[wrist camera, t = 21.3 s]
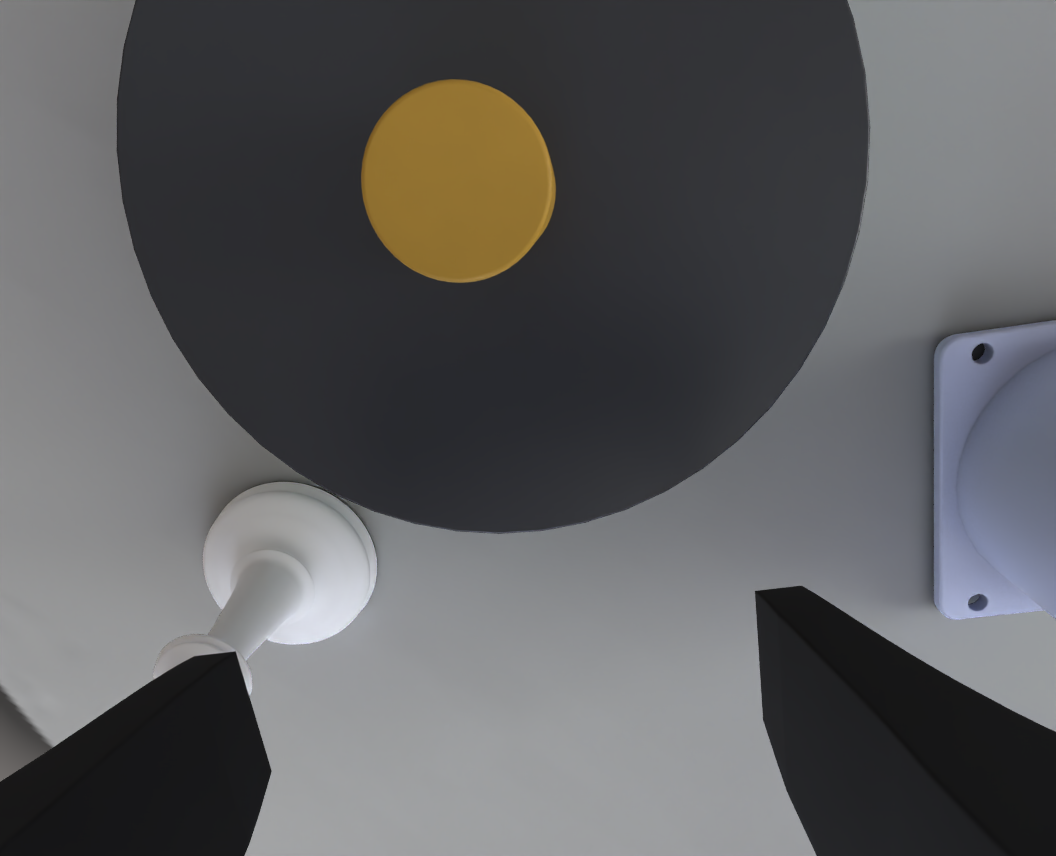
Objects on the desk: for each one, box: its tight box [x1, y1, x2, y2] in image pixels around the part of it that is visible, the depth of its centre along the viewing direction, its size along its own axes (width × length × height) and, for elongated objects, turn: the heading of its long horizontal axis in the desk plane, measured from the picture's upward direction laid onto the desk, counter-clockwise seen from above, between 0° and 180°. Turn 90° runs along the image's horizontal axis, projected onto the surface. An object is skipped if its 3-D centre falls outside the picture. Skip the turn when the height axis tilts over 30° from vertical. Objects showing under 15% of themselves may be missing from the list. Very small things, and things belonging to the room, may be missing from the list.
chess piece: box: [153, 482, 377, 697], centre depth 16 cm, size 5×5×10 cm
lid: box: [117, 0, 870, 534], centre depth 11 cm, size 13×13×5 cm
